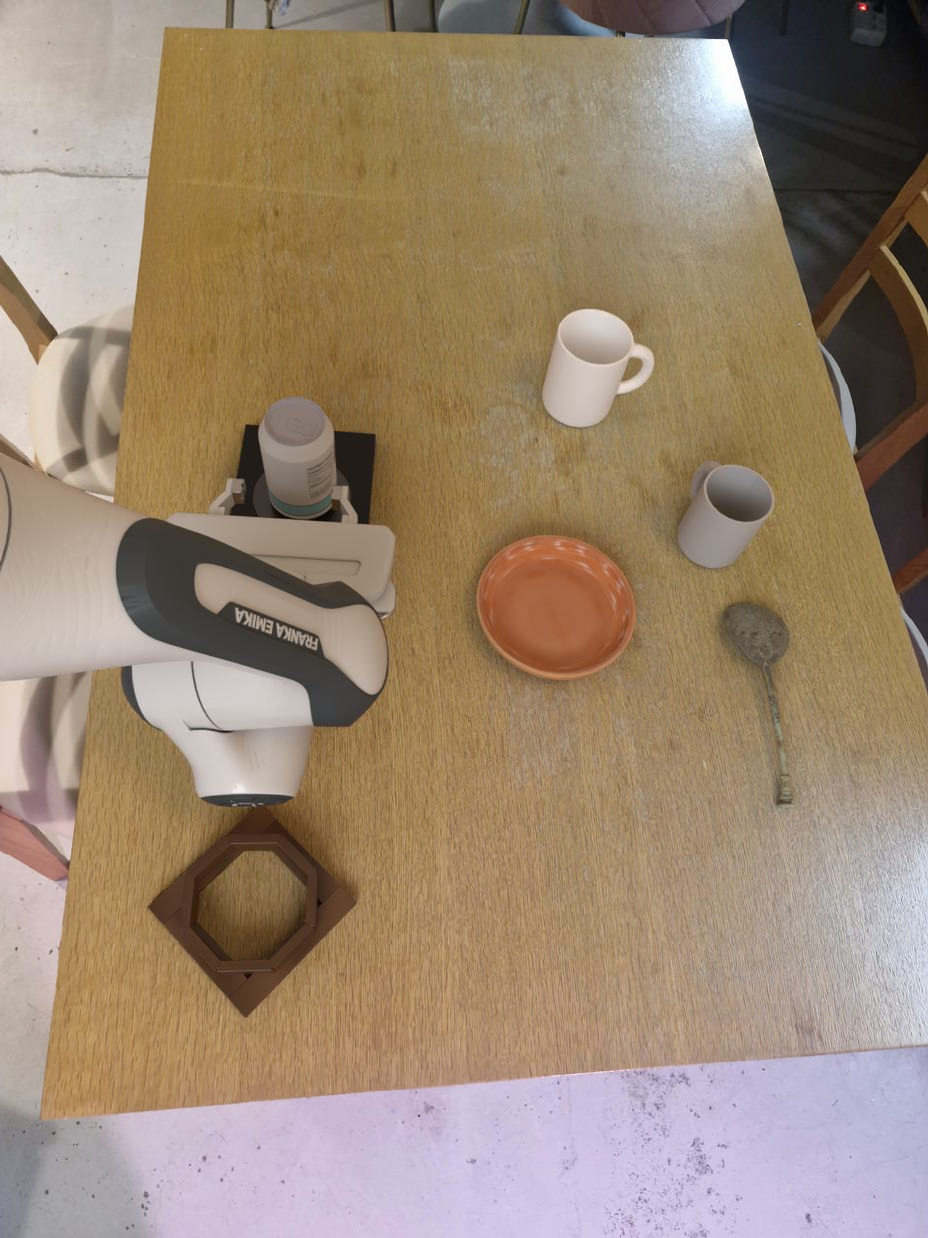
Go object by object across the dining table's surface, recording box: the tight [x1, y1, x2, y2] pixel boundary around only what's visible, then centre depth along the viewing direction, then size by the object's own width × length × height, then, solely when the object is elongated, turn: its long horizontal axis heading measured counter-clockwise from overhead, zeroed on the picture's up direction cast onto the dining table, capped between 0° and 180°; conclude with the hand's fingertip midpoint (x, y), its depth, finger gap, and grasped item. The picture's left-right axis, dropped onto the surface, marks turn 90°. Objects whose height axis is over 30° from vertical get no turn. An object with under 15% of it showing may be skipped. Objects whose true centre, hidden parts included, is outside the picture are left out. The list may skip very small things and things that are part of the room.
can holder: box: [147, 806, 357, 1018], centre depth 70 cm, size 12×12×3 cm
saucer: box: [475, 534, 637, 681], centre depth 85 cm, size 16×16×3 cm
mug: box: [541, 308, 655, 428], centre depth 95 cm, size 12×8×10 cm
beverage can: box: [258, 396, 337, 519], centre depth 83 cm, size 7×7×12 cm
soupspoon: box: [723, 602, 798, 809], centre depth 83 cm, size 22×3×7 cm
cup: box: [676, 459, 776, 569], centre depth 89 cm, size 7×10×9 cm
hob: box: [229, 423, 377, 525], centre depth 88 cm, size 18×14×2 cm
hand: (289, 485), depth 78 cm, fingers open, 8 cm apart
